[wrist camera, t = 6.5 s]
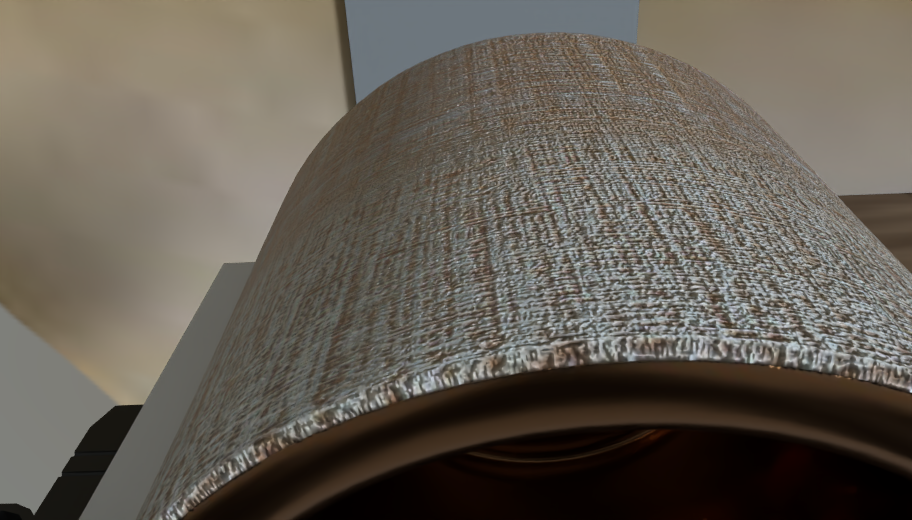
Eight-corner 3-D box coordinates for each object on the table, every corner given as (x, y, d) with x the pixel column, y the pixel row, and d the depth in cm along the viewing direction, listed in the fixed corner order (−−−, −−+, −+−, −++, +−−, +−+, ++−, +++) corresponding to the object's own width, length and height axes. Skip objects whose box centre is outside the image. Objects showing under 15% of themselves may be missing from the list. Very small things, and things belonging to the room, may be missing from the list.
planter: (222, 382, 18) (-1, 881, 9) (389, -86, 13) (234, 77, 4) (628, 517, 20) (747, 1024, 11) (912, 161, 15) (1506, 602, 6)
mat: (337, -81, 30) (335, -80, 29) (643, -97, 29) (645, -96, 29) (368, 198, 35) (367, 201, 35) (624, 188, 35) (626, 191, 35)
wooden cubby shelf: (538, 207, 35) (568, 357, 25) (932, 192, 35) (1134, 340, 24) (537, 491, 44) (558, 691, 34) (851, 483, 44) (973, 685, 33)
